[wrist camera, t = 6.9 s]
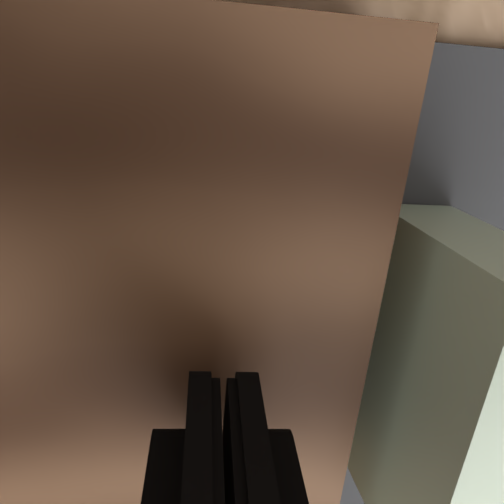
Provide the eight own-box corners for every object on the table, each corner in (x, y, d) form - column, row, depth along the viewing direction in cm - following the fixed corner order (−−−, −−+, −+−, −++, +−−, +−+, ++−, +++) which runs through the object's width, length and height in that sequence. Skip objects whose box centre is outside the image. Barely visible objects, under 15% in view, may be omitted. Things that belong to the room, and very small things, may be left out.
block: (521, 293, 8) (631, 292, 9) (377, 203, 14) (451, 205, 14) (414, 609, 12) (499, 596, 12) (332, 435, 17) (393, 430, 18)
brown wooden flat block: (-98, -10, 11) (-247, -48, 8) (371, 37, 13) (438, 23, 9) (-6, 515, 18) (-62, 632, 14) (295, 507, 19) (317, 612, 15)
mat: (381, 38, 13) (386, 37, 12) (638, 63, 14) (650, 63, 13) (302, 507, 19) (304, 516, 19) (480, 503, 20) (485, 511, 20)
